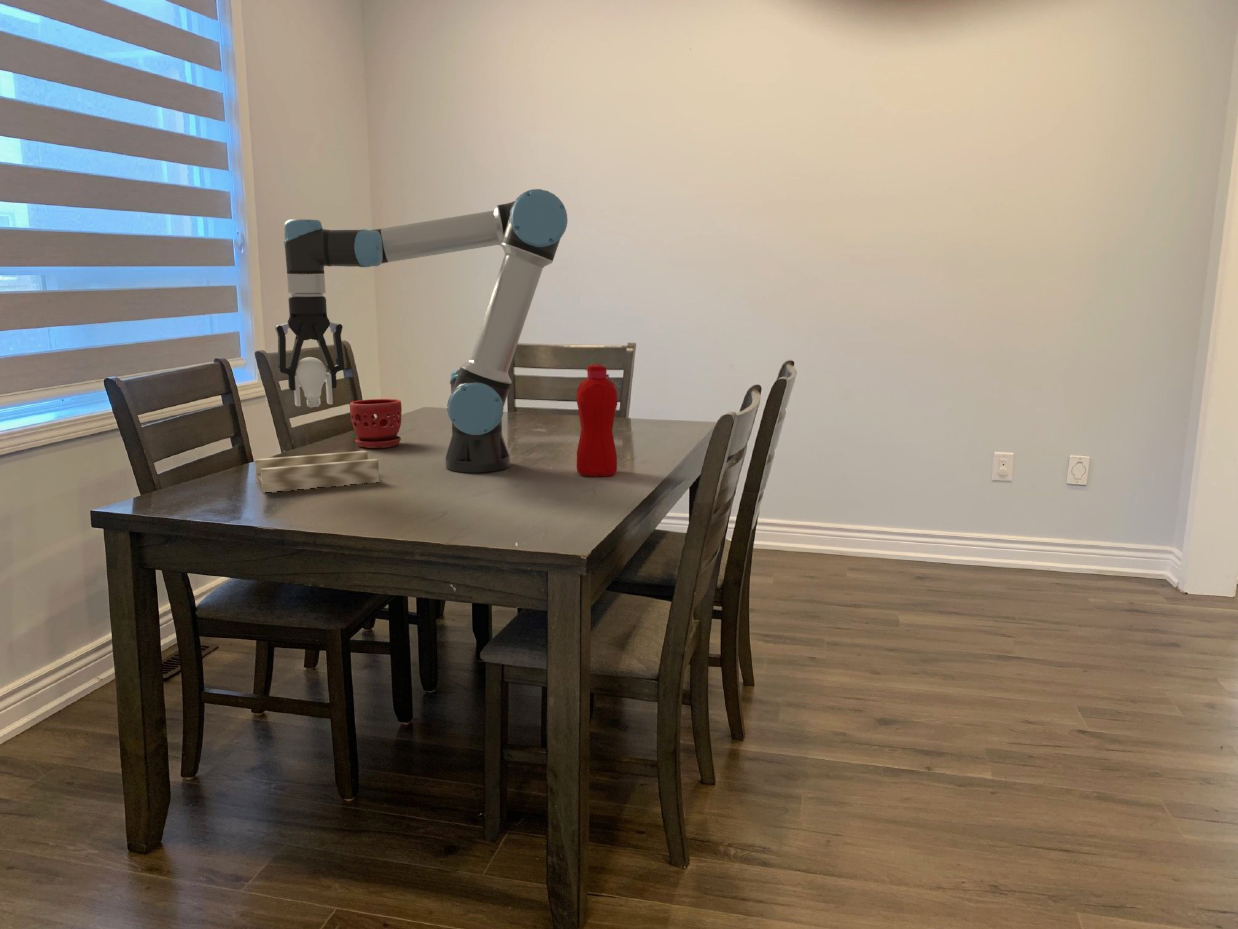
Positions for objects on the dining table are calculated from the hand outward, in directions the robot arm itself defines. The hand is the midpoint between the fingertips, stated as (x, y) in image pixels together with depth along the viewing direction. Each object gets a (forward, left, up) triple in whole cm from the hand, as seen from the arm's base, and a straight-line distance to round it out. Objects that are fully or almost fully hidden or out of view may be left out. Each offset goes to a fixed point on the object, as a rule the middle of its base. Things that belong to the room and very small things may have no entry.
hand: (314, 404), depth 204 cm
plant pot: (-22, -38, -17) cm, 47 cm away
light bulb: (0, 0, -1) cm, 1 cm away
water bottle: (-60, +18, -17) cm, 65 cm away
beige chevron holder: (0, 0, -17) cm, 17 cm away
